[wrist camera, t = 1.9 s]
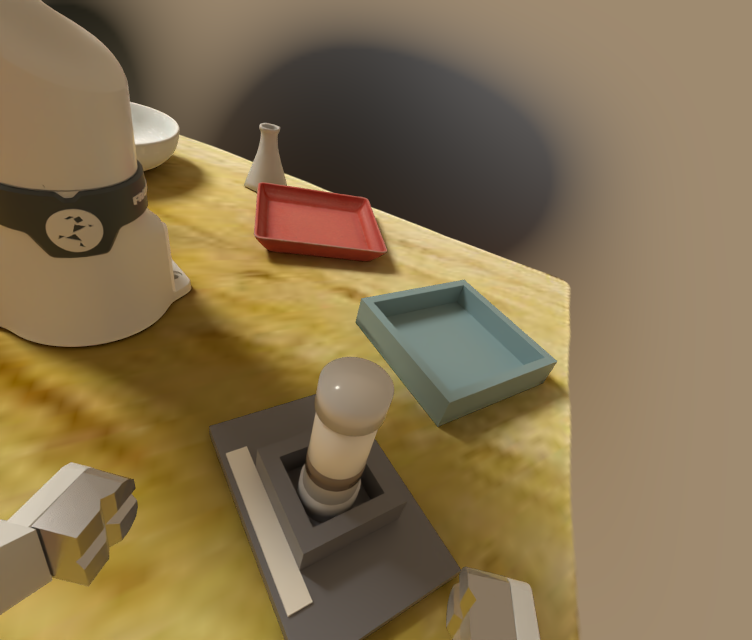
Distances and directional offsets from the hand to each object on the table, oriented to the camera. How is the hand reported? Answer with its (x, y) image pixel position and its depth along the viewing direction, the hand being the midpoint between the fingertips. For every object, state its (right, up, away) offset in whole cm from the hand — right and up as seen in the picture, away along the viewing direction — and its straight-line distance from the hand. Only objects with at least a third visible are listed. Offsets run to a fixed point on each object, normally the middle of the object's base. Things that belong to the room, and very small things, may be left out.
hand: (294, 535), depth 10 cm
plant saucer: (-7, +18, +55) cm, 59 cm away
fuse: (-2, -8, +22) cm, 23 cm away
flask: (-17, +28, +64) cm, 72 cm away
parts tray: (+10, +1, +39) cm, 41 cm away
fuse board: (-2, -9, +22) cm, 24 cm away
